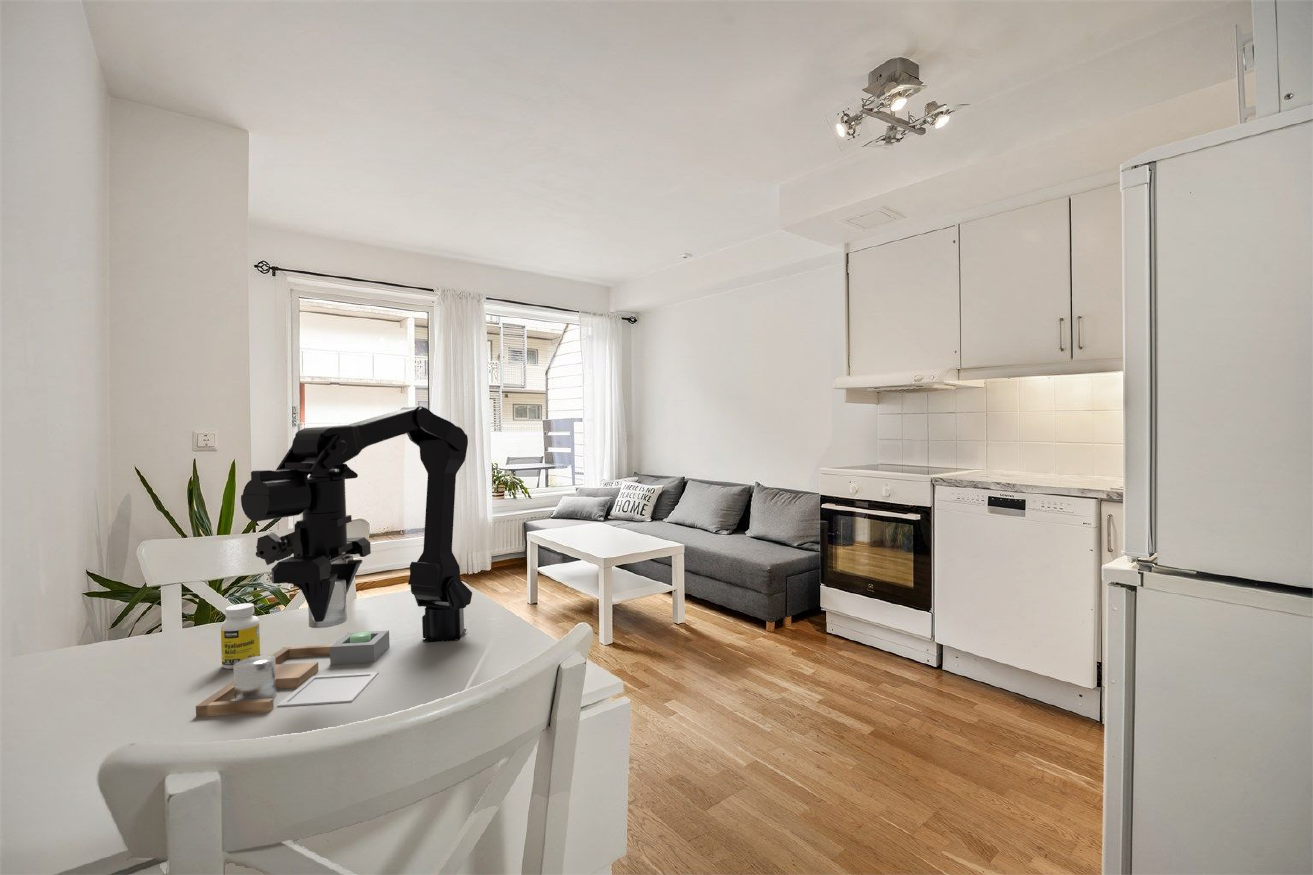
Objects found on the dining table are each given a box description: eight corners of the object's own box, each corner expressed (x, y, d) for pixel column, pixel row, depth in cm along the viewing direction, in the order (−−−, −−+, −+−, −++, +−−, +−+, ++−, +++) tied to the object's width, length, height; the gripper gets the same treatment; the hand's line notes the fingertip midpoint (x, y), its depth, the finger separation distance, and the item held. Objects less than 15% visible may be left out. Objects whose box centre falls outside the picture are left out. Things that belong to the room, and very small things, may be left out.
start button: (374, 648, 104) (373, 631, 104) (366, 655, 100) (366, 637, 100) (355, 649, 103) (354, 632, 103) (347, 656, 100) (346, 639, 100)
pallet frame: (340, 655, 103) (340, 644, 103) (269, 716, 82) (269, 701, 82) (283, 658, 103) (282, 647, 103) (196, 720, 81) (195, 706, 81)
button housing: (389, 650, 106) (389, 630, 106) (374, 665, 99) (373, 644, 99) (348, 652, 105) (348, 632, 105) (330, 668, 98) (329, 646, 98)
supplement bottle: (219, 672, 97) (216, 613, 97) (225, 661, 102) (223, 604, 102) (258, 665, 100) (256, 607, 100) (262, 655, 105) (260, 600, 105)
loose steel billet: (352, 616, 91) (351, 577, 91) (338, 627, 86) (336, 586, 86) (318, 618, 91) (317, 579, 91) (302, 629, 86) (300, 587, 86)
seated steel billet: (283, 694, 88) (282, 654, 88) (264, 710, 83) (263, 667, 83) (248, 696, 88) (246, 656, 88) (226, 712, 83) (225, 669, 83)
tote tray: (378, 676, 94) (378, 671, 94) (351, 706, 84) (351, 700, 84) (312, 680, 93) (312, 675, 93) (277, 710, 83) (277, 705, 83)
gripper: (299, 505, 97) (302, 600, 97) (227, 523, 78) (231, 641, 79) (370, 502, 98) (373, 597, 98) (315, 520, 79) (320, 636, 80)
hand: (328, 615), depth 89 cm, fingers closed on loose steel billet, 5 cm apart
